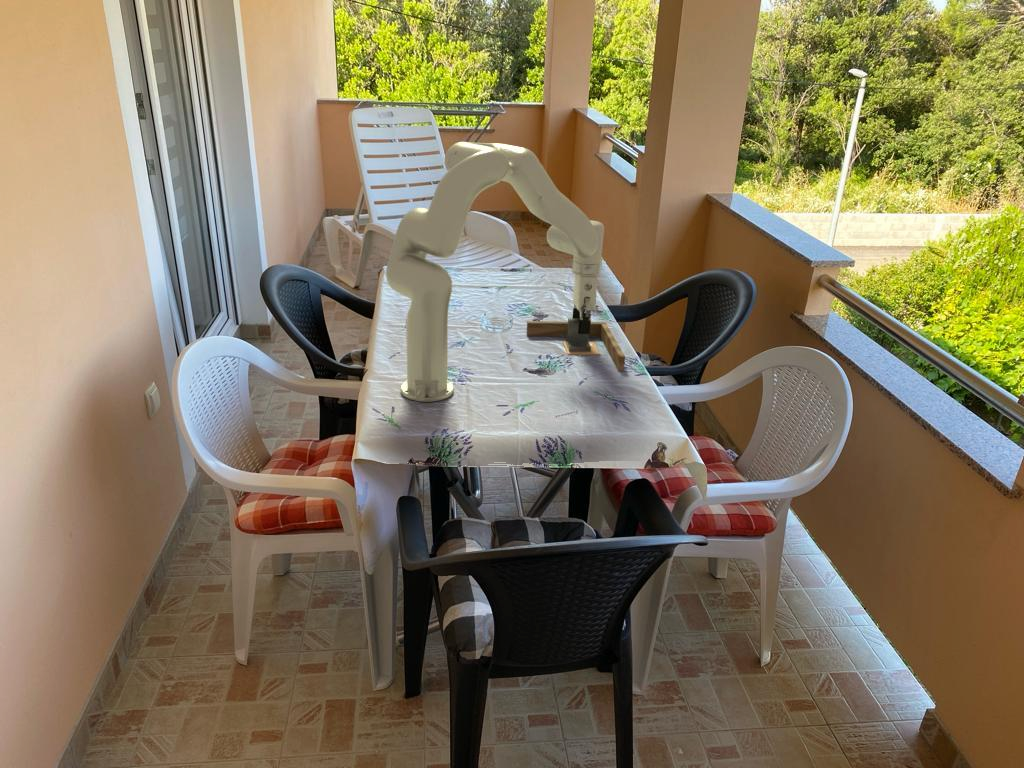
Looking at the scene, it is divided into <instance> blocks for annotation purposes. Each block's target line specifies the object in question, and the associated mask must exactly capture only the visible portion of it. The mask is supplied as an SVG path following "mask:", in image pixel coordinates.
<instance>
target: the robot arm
mask: <svg viewBox="0 0 1024 768" xmlns="http://www.w3.org/2000/svg"><path fill="white" fill-rule="evenodd" d="M444 166H445V169H446V171H447V172H445V174H444V175H443V176H442V178H441V179H440V180H439V181H438V184H437V185H436V188H435V191H434V194H433V196H432V199H431V201H430V205H429V207H428V208H425V207H415V208H412V209H410V210H409V211H408V212H407V213H405V214H404V216H403V217H402V219H401V220H400V222H399V224H398V226H397V229H396V231H395V232H396V233H395V236H394V239H393V243H392V246H391V249H390V252H389V253H390V254H389V257H388V260H387V265H386V270H385V277H386V281H387V284H388V286H389V288H391V289H392V290H393V291H395V292H396V293H398V294H400V295H401V296H404V297H406V298H408V299H410V303H411V304H410V305H409V309H408V312H407V314H406V321H405V328H406V329H405V330H406V377H407V378H406V380H405V381H404V382H403V383H402V384H401V385H400V393H401V394H402V396H404V397H405V398H407V399H409V400H412V401H415V402H421V403H423V402H425V403H430V402H431V403H432V402H438V401H439V402H440V401H442V400H446V399H448V398H449V397H451V396H452V395H453V394H454V391H455V389H454V388H455V387H454V384H453V383H452V382H451V381H450V380H448V353H449V352H448V350H449V349H448V347H449V346H448V345H449V344H448V339H449V338H448V334H449V332H448V331H449V330H448V328H449V327H448V324H449V323H448V322H449V308H450V302H451V299H452V298H451V297H452V291H453V280H452V277H451V275H450V272H449V271H447V270H446V268H444V267H443V266H441V265H440V264H438V263H435V262H433V261H431V260H428V259H427V255H430V256H433V257H435V258H439V259H440V258H441V259H446V258H447V259H448V258H450V257H452V256H453V255H454V254H455V253H456V251H457V249H458V247H459V244H460V242H461V238H462V234H463V232H464V229H465V225H466V222H467V220H468V216H469V213H470V210H471V207H472V205H473V203H474V201H475V199H476V198H477V197H478V196H479V195H480V193H482V192H483V191H485V190H486V189H488V188H489V187H492V186H495V185H496V184H498V183H499V182H501V181H502V182H505V183H508V184H510V185H511V187H512V188H513V190H515V191H514V192H516V194H517V195H518V196H519V198H520V199H521V201H522V202H523V204H524V205H525V206H526V208H527V209H528V210H529V213H531V214H533V215H534V216H535V217H536V218H538V219H540V220H542V221H543V222H545V223H547V224H549V225H551V226H550V227H549V228H548V230H547V232H546V241H547V244H548V245H549V246H550V248H553V249H554V250H557V251H560V252H562V253H565V254H568V255H571V256H572V255H573V256H572V267H571V273H572V274H573V275H574V282H573V293H572V299H573V300H572V301H573V308H572V318H571V319H579V324H578V334H589V333H590V324H591V322H592V317H591V316H592V313H591V312H595V311H596V307H597V294H598V293H597V292H598V291H597V289H598V288H597V287H598V285H597V284H598V280H597V279H598V278H597V277H598V276H599V275H601V265H602V255H603V254H602V253H603V247H604V245H603V244H604V238H605V237H604V236H605V235H604V234H605V226H604V224H603V223H602V222H601V221H596V220H591V219H589V217H588V216H587V215H586V214H585V213H584V212H583V210H582V209H580V208H579V207H578V205H576V204H575V203H573V201H571V200H570V199H569V198H568V197H567V196H566V195H565V194H563V193H562V192H561V191H560V190H559V189H558V188H557V186H556V185H555V183H554V182H553V180H552V179H551V177H550V176H549V174H548V172H547V170H546V169H545V168H544V166H543V164H542V162H541V161H540V159H539V158H538V157H537V155H536V154H535V153H534V152H533V151H532V150H530V149H529V148H527V147H522V146H517V145H513V144H512V145H511V144H507V143H495V142H493V143H488V142H487V143H485V142H472V141H471V142H470V141H459V142H455V143H454V144H452V145H451V146H449V148H448V150H447V151H446V153H445V156H444Z"/></svg>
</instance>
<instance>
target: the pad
mask: <svg viewBox="0 0 1024 768" xmlns="http://www.w3.org/2000/svg"><path fill="white" fill-rule="evenodd" d="M562 344H563V347H564V349H565V351H566V354H567V355H568V356H571V355H573V356H600V355H601V353H600V351H599V348H598V347H597V345H596V343H595V341H589V344H590V346H591V352H569V350H568V348H567V345H566V341H562Z"/></svg>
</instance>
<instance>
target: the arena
mask: <svg viewBox="0 0 1024 768" xmlns="http://www.w3.org/2000/svg"><path fill="white" fill-rule="evenodd" d="M567 324H568V321H543V320H542V321H538V320H537V321H536V320H527V321H526V337H566V336H567ZM591 337H592V338H600V339H601V341H602V343H603V345H604V347H605V348H606V351H607V353H608V354H609V356H610V358H611V360H612V363H613V364H614V366H615V368H616V369H617V371H618V372H621V371H623V372H624V370H625V364H626V363H625V362H626V356H625V353H624V352H623V350H622V348H621V346H620V345H619V343H618V342H617V339H616V338H615V337H614V334H613V333H612V331H611V329H610V328H609V325H608V324H607V322H605V321H591V324H590V333H589V338H591Z"/></svg>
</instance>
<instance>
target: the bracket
mask: <svg viewBox="0 0 1024 768" xmlns="http://www.w3.org/2000/svg"><path fill="white" fill-rule="evenodd" d="M567 322H568V324H567V336H565V338H566V339H565V340H566V341H565V342H566V345H567V348H568V350H569V352H591V346H590V344H589V342H590V341H589V338H590V337H589V334H578V324H579V319H572V318H567Z"/></svg>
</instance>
